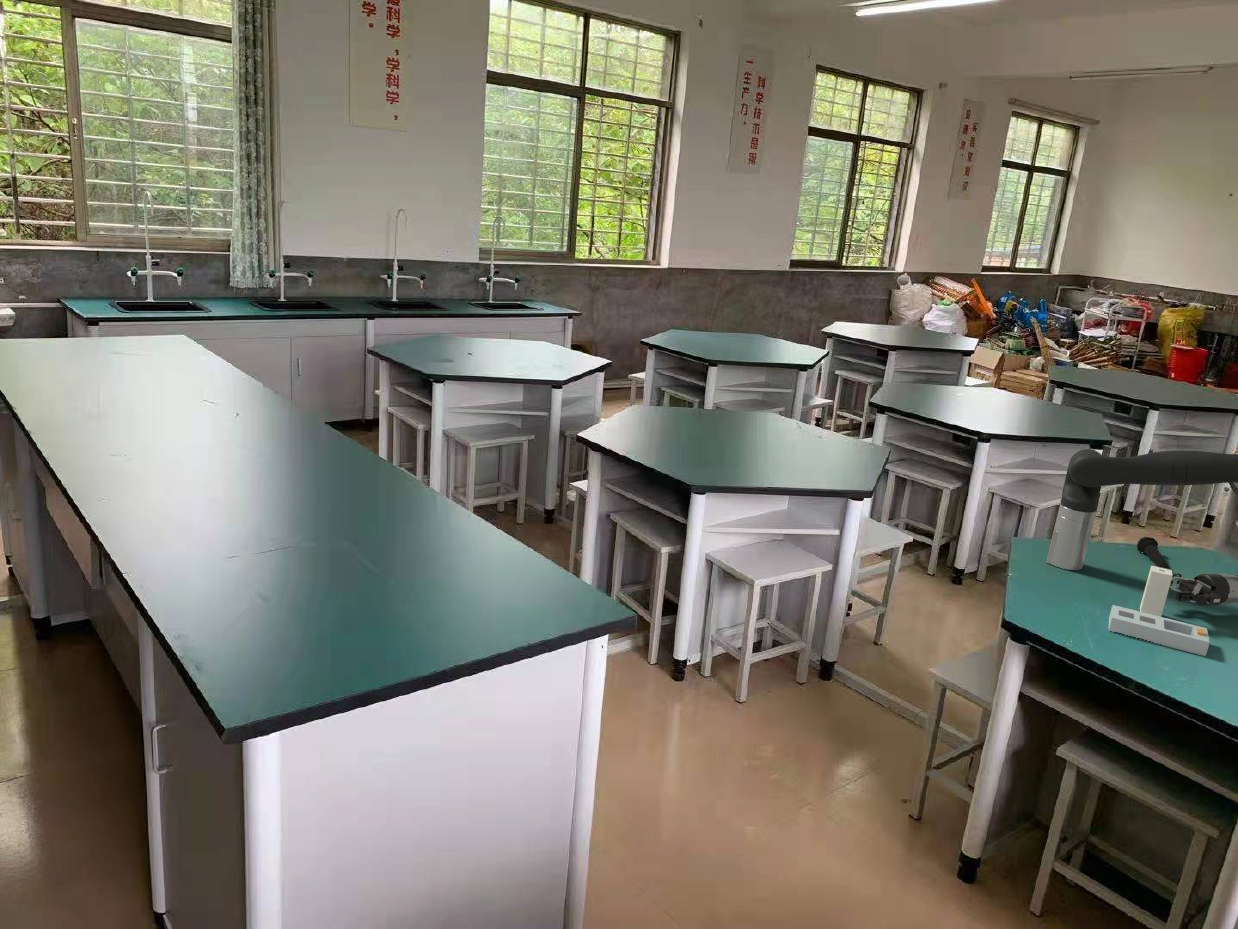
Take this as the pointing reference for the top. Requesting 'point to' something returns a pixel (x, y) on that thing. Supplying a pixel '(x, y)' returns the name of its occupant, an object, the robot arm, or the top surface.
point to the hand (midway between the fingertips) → (1164, 588)
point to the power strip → (1159, 630)
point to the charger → (1156, 591)
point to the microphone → (1152, 551)
